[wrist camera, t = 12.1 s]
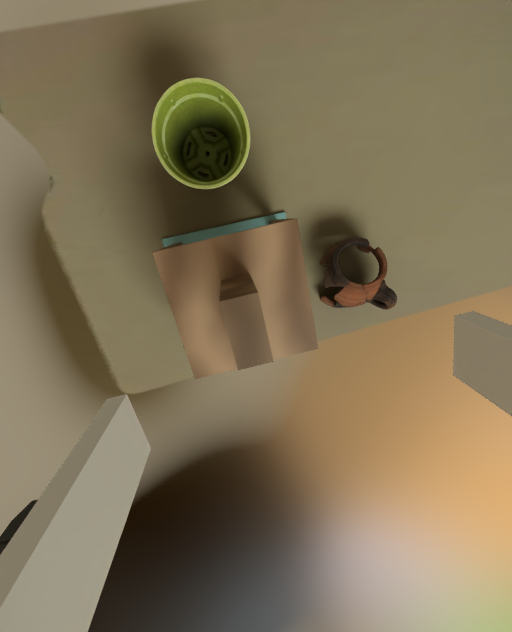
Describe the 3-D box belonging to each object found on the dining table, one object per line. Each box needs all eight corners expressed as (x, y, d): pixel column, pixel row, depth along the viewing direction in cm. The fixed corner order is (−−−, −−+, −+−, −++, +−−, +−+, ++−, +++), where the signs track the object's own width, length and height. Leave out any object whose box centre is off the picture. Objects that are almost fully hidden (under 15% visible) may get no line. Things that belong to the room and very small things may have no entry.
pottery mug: (299, 296, 43) (314, 277, 35) (324, 246, 45) (344, 217, 37) (370, 332, 43) (402, 322, 35) (391, 280, 45) (426, 259, 37)
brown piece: (277, 219, 38) (323, 217, 20) (295, 316, 43) (346, 387, 25) (173, 243, 38) (123, 264, 20) (202, 339, 43) (185, 427, 24)
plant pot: (236, 204, 38) (239, 199, 29) (164, 186, 36) (146, 175, 28) (251, 124, 35) (259, 94, 27) (174, 101, 33) (157, 62, 25)
